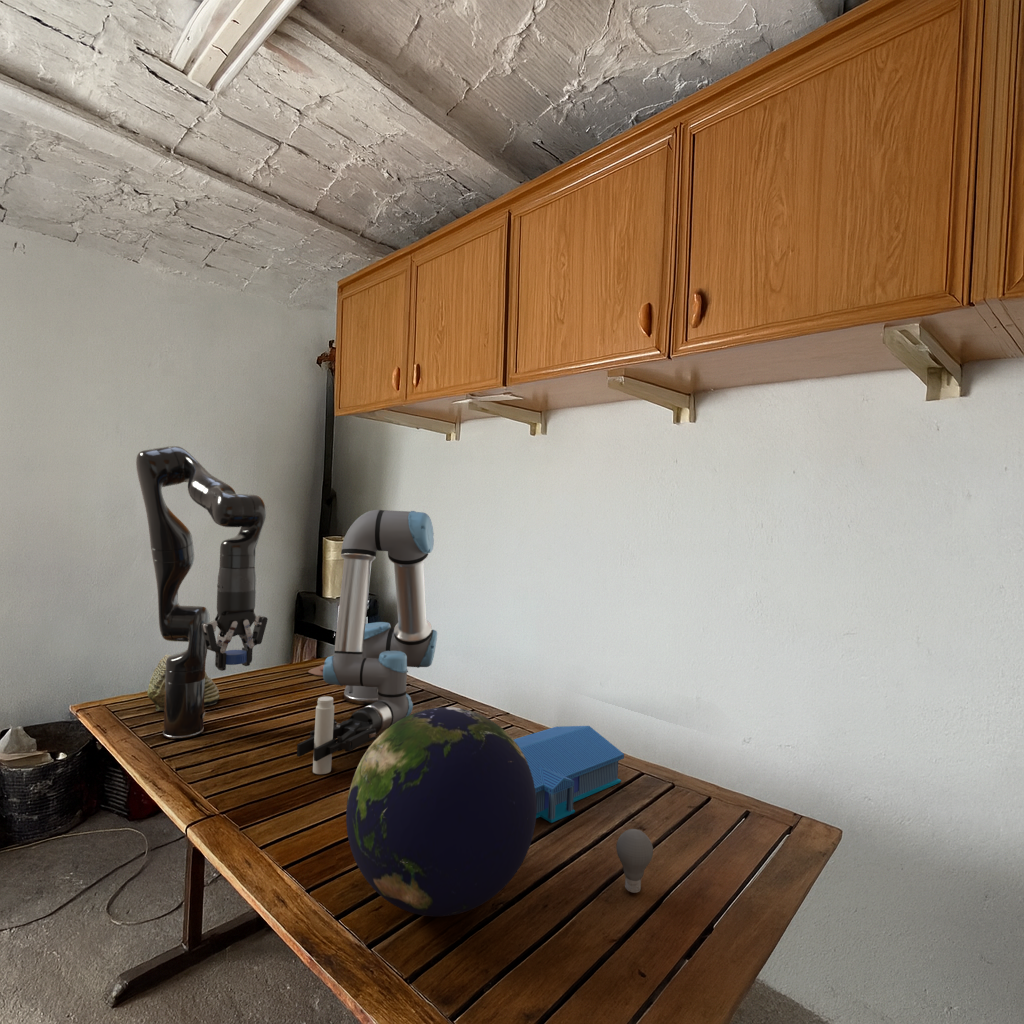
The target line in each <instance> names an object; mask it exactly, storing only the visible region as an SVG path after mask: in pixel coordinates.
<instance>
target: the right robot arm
mask: <svg viewBox="0 0 1024 1024" xmlns="http://www.w3.org/2000/svg"><path fill="white" fill-rule="evenodd" d="M434 534H435V533H434V526H433V522H432V518H431V517H430V515H429V514H427V513H426V512H424V511H416V510H410V511H409V510H407V511H406V510H390V509H389V510H386V509H384V510H383V509H372V510H369V511H368V510H367V511H366V512H364V513H362V514H361V515H360V516H359V517H357V518H356V519H355V520H354V522H352V524H351V525H350V527H349V528H348V530H347V531H346V533H345V536H344V538H343V541H342V544H341V550H340V557H341V558H342V559H343V566H342V576H341V585H340V595H339V605H338V614H337V622H336V623H337V624H336V631H335V632H336V634H335V640H334V653H333V655H330V656H327V657H326V658H325V660H324V662H323V663H324V664H323V665H324V667H323V676H322V679H323V682H325V684H327V685H334V686H340V687H343V686H345V688H344V691H343V699H344V701H346V702H348V703H351V704H355V705H356V704H357V705H366V706H364V707H361V708H360V709H358V710H355V711H354V712H353V713H352V714H351V715H350V717H349V719H346V720H343V721H341V722H338V721H337V719H335V718H334V725H333V739H332V740H330V741H328V742H326V743H324V744H322V745H320V746H318V747H316V748H314V736H315V729H313V730H310V732H309V738H307V739H305V740H303V741H301V742H299V743H297V745H296V757H299V758H300V757H302V756H304V755H306V754H309V753H310V752H312V751H313V755H314V761H318V760H320V759H322V758H324V757H326V756H327V755H329V754H332V755H333V754H334V753H336V752H341V751H343V750H344V752H348V753H349V752H351V751H353V750H355V749H357V748H358V747H360V746H363V745H365V744H366V743H369V742H373V741H375V740H376V739H377V738H376V736H377V735H378V734H379V733H380V734H381V733H382V732H384V731H385V730H386V729H388V728H389V727H390V726H392V725H393V724H394V723H396V722H398V721H399V720H401V719H403V718H405V717H407V716H409V715H411V714H412V712H413V708H414V703H413V701H412V697H411V696H410V695H409V693H407V680H408V673H409V671H408V670H409V669H408V668H417V669H419V668H429V667H430V666H432V664H433V662H434V658H435V652H436V647H437V641H438V630H436V629H433V628H432V624H431V622H429V620H427V607H426V606H427V605H426V581H425V564H424V563H425V562H424V561H426V559H428V557H429V554H430V553H432V552H433V549H434V546H435V545H434V541H435V539H434V536H435V535H434ZM377 552H387V557H388V560H389V561H390V562H391V563H393V570H394V583H395V595H396V610H397V623H396V624H395V626H394V627H392V626H391V623H390V622H386V621H376V622H370V623H369V622H368V623H367V622H366V621H367V614H368V613H367V612H368V604H369V603H368V601H369V593H370V584H371V583H370V582H371V571H372V570H371V569H372V562H373V561H375V560H376V558H377Z"/></svg>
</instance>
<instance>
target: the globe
mask: <svg viewBox="0 0 1024 1024" xmlns="http://www.w3.org/2000/svg"><path fill="white" fill-rule="evenodd" d="M356 767H357V768H356V770H355V772H354V774H353V777H352V780H351V783H350V786H349V790H348V795H347V801H346V811H345V816H346V817H345V821H346V822H345V824H346V832H347V833H346V834H347V838H348V844H349V847H350V851H351V854H352V856H353V859H354V862H355V863H356V866H357V868H358V870H359V871H360V873H361V875H362V876H363V878H364V879H365V881H366V882H367V883H368V884H369V885H370V886H371V888H372V889H373V890H374V891H375V892H376V893H377V894H378V895H379V896H380V897H382V898H383V899H384V900H386V901H387V902H388V903H390V904H392V906H395V907H397V908H399V909H401V910H403V911H406V912H408V913H411V914H414V915H419V916H423V917H433V918H434V917H435V918H436V917H440V918H441V917H451V916H455V915H460V914H463V913H466V912H469V911H472V910H474V909H476V908H478V907H480V906H482V905H484V904H486V903H487V902H489V901H490V900H491V899H493V898H494V897H496V895H497V894H499V893H500V892H501V891H502V890H504V888H505V887H506V886H507V885H508V884H509V883H510V881H512V879H513V878H514V876H515V875H516V874H517V873H518V871H519V870H520V868H521V866H522V864H523V862H524V860H525V859H526V856H527V854H528V852H529V849H530V846H531V844H532V840H533V837H534V833H535V828H536V824H537V823H536V821H537V818H536V810H537V805H536V792H535V786H534V781H533V777H532V774H531V771H530V768H529V766H528V763H527V760H526V758H525V756H524V755H523V753H522V751H521V749H520V748H519V746H518V745H517V744H516V742H515V741H514V738H513V737H512V736H511V735H510V734H509V733H508V732H507V731H506V730H505V729H504V728H503V727H501V725H499V724H497V723H496V722H494V721H493V720H491V719H490V718H488V717H486V716H484V715H482V714H480V713H478V712H475V711H472V710H468V709H464V708H459V707H453V706H448V707H447V706H446V707H443V706H442V707H434V708H433V707H432V708H427V709H423V710H420V711H417V712H414V713H411V714H410V715H409V716H407V717H405V718H403V719H401V720H399V721H398V722H396V723H394V724H393V725H392V726H390V727H389V728H387V729H385V730H383V731H382V732H381V733H380V734H379V736H377V738H376V739H375V740H373V741H372V743H371V744H370V745H369V746H368V748H367V749H366V751H365V753H364V754H363V756H362V757H361V758H360V761H359V763H358V765H357V766H356Z"/></svg>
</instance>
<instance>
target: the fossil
mask: <svg viewBox="0 0 1024 1024" xmlns="http://www.w3.org/2000/svg"><path fill="white" fill-rule="evenodd" d="M171 655H172V654H165V655H164V656H163V657H162V658H161V659H160V660H159V662H158V663H157V666H156V667H155V669H154V670H153V672H152V675H151V677H150V680H149V684H148V688H147V697H148V699H149V700H150V701H152V703H153V704H154V706H155V711H158V712H159V711H162V712H163V711H164V705H165V674H166V660H167V658H168V657H170V656H171ZM220 698H221V696H220V690H219V688H218V686H217V685H216V683H215V682H214V681H213V679H212V678H211V677H209V675H208V674H207V672H206V671H205V693H204V707H207V706H213V705H215V704H217V703H218V701H219V699H220Z"/></svg>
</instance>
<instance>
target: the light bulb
mask: <svg viewBox="0 0 1024 1024" xmlns="http://www.w3.org/2000/svg"><path fill="white" fill-rule="evenodd" d="M615 849H616V854H617V857H618V859H619V861H620V863H621V865H622V867H623V873H624V874H623V875H624V876H625V878H624V888H625V890H627V891H628V892H630V893H634V894H635V893H639V892H640V891H641V889H642V887H641V886H642V879H643V877H644V875H645V871H646V868H647V867H648V866H649V864H650V863H651V861H652V859H653V855H654V847H653V843H652V841H651V838H649V836H648V835H647V834H646V833H645V832H643V831H642V830H641V829H636V828H629V829H627V830H625V831H623V832H622V833H621V834H620V835H619V837H618V839H617V841H616V847H615Z"/></svg>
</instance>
